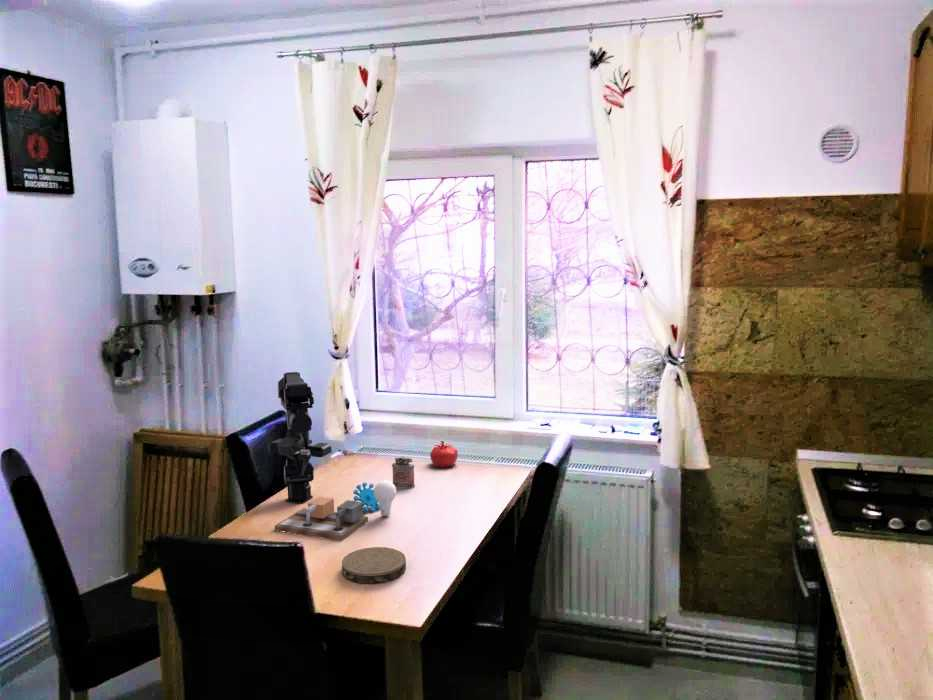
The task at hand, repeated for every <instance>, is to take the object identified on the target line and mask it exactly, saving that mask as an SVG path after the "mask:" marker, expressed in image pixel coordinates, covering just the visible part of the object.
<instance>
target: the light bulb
mask: <svg viewBox="0 0 933 700" xmlns="http://www.w3.org/2000/svg"><path fill="white" fill-rule="evenodd" d="M373 488H374V489H373V490H374V496H375V498H376V499H377V501H378V504H379V505H380V509H379V510H380V515H381V516H382V517H388V516H389V515H391V513H392V511H391V509H392V503H393V501H394V499H395V498H396V495H397V487H396V486H394V484H393V481H392V482H391V481H390V480H385V479H384V480H381V481H379V482H378V483H376V485H375V486H374V487H373Z"/></svg>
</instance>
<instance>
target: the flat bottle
mask: <svg viewBox="0 0 933 700" xmlns="http://www.w3.org/2000/svg"><path fill="white" fill-rule="evenodd" d="M394 461H395V462H393V463H391V467H392V483H393V484H394V486H395V488H401V487H402V488H404V489H413V488H415V487H416V484H415V464H413V458H412V457H411V458H410V457H405V455H404V456H400V457H399V456H395V458H394Z"/></svg>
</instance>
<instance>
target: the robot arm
mask: <svg viewBox="0 0 933 700" xmlns="http://www.w3.org/2000/svg"><path fill="white" fill-rule="evenodd" d="M277 397H278V399H280V405H281V406H282V407H283V409H284V410H285V412H286V422H287V423H286V424H287V430H286V434H285V437H283V438H278V439H276V440H273V441H271V442H270V443H269V445H268V452H269V453H276V454H277V453H278V452H279V455H281V456H285V457H286V460H285V465H284V466H283V476H284V477H283V479H284V484H285V485H287V498H286V499H284V501H285V502H286V501H287V502H288V503H295V504H304V503H306V502H307V501H308V500H311V499H312V498H314V495H312V489H311V484H310V482H311V483H312V482H313V480H315V479H314V477H315V476H314V471H315V470H314V469H315V468H314V466H313V464H312V462H310V460H311V458H313V457H315V458H323V457H325V456H327V455H329V454H332V452H333V451H332V445H331V444H330V443H327V442H326V443H324V442H318V443H316V444H314V445H311V444H312V443H313V440H312V439H310V431H312V425H313V421H312V418H311V415H310V413H309V409H313V408H314V407H313V405H315V400H314V393H313V390H312V387H311V386H309V384H308V383H307V382H305V380H304V379H303V378H302V377H301V374H300V372H298V371H290V372H285V373H283V376H282V378H281V379H280V380H279V381H278V382H277Z"/></svg>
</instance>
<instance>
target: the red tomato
mask: <svg viewBox="0 0 933 700" xmlns="http://www.w3.org/2000/svg"><path fill="white" fill-rule="evenodd" d="M458 454H459V453H458V450H457V449H456V448H455V447H454V446H453V445H452V444H450V443H449V442H448V443H446V444H445V441H444V440H441V441H440V443H439V444H436V445H434V447H433V449H432V450H431V452H430V455H429V456H430V460H431V462H432V464H433V466H434V467H436V468H447V467H452V466H454V465H455V463H457V460H458V456H459V455H458Z"/></svg>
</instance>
